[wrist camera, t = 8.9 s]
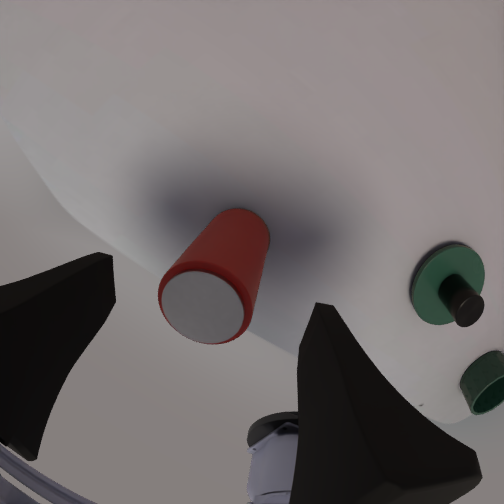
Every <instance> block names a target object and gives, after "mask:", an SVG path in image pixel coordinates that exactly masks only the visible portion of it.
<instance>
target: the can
mask: <svg viewBox="0 0 504 504" xmlns="http://www.w3.org/2000/svg"><path fill="white" fill-rule="evenodd" d="M268 245H269V235H268V231H267V229H266V226H265V225H264V223H263V222H262V221H261V219H260V218H259V217H257V216H256V215H255V214H253V213H251V212H249V211H247V210H243V209H229V210H226V211H223V212H221V213H220V214H218V215H217V216H216V217H215V218H214V219H213V220H212V221H211V222H210V223H209V224H208V226H207V227H206V228H205V229H204V230H203V231H202V232H201V233H200V235H199V236H198V237H197V238H196V239H195V240H194V241H193V242H192V244H191V245H190V246H189V247H188V248H187V249H186V250H185V252H184V253H183V254H182V255H181V256H180V257H179V258H178V260H177V261H176V262H175V263H174V264H173V265H172V267H171V268H170V269H169V270H168V271H167V272H166V274H165V275H164V276H163V278H162V280H161V282H160V284H159V289H158V301H159V305H160V308H161V311H162V313H163V315H164V317H165V319H166V320H167V321H168V323H169V324H170V325H171V326H172V327H173V328H174V329H175V330H176V331H178V332H179V333H180V334H182V335H183V336H185V337H187V338H189V339H191V340H193V341H196V342H199V343H204V344H222V343H227V342H230V341H232V340H234V339H236V338H238V337H239V336H240V335H242V334H243V333H244V332H245V330H246V329H247V328H248V326H249V324H250V322H251V319H252V315H253V311H254V306H255V302H256V298H257V293H258V289H259V285H260V280H261V276H262V272H263V267H264V263H265V259H266V254H267V250H268Z"/></svg>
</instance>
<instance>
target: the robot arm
mask: <svg viewBox="0 0 504 504" xmlns="http://www.w3.org/2000/svg"><path fill="white" fill-rule="evenodd" d="M115 303H116V296H115V285H114V272H113V256H112V255H108V254H105V253H100V252H97V253H93V254H90V255H87V256H84V257H81V258H79V259H76V260H73V261H71V262H68V263H66V264H63V265H61V266H58V267H55V268H53V269H50V270H48V271H45V272H42V273H39V274H37V275H34V276H32V277H29V278H26V279H23V280H20V281H16V282H13V283H10V284H6V285H3V286H0V442H1V443H2V444H3V445H5V446H8V447H9V448H11V449H12V450H13V451H15V452H16V453H17V454H19V455H20V456H22V457H23V458H25V459H26V460H27V461H34V460H36V459H37V456H38V452H39V448H40V444H41V440H42V436H43V433H44V430H45V427H46V424H47V421H48V418H49V415H50V413H51V410H52V408H53V405H54V403H55V401H56V399H57V396H58V394H59V392H60V390H61V388H62V386H63V384H64V382H65V380H66V378H67V376H68V374H69V372H70V370H71V369H72V367H73V366H74V364H75V363H76V361H77V360H78V359H79V357H80V356H81V354H82V353H83V352H84V350H85V349H86V347H87V346H88V345H89V343H90V342H91V341H92V339H93V338H94V336H95V335H96V333H97V332H98V331H99V330H100V328H101V327H102V325H103V324H104V323H105V321H106V319H107V317H108V316H109V314H110V312H111V310H112V308H113V306H114V304H115ZM297 387H298V422H299V426H298V425H295V424H293V423H290V422H286V423H284V424H283V425H281V426H280V427H278V428H277V429H276V430H274V431H273V432H271V433H270V434H269V435H267V436H266V437H264V438H263V439H261V440H260V441H258V442H257V443H255V444H254V445H252V446H251V447H249V448H248V449H247V452H248V453H251V454H252V460H251V466H250V472H249V478H248V483H247V493H248V496H249V498H250V500H251V501H252V502H248V503H247V504H449V503H451V502H453V501H454V500H456V499H458V498H459V497H461V496H463V495H465V494H466V493H468V492H469V491H470V490H472V489H474V488H475V487H476V486H477V485H478V484H479V482H480V481H481V479H482V474H481V470H480V466H479V462H478V458H477V455H476V452H475V451H474V450H473V449H471V448H469V447H468V446H466V445H464V444H463V443H461V442H460V441H458V440H456V439H455V438H453V437H451V436H450V435H448V434H447V433H445V432H444V431H443V430H441V429H440V428H438V427H437V426H436V425H434V424H433V423H432V422H431V421H429V420H428V419H427V418H426V417H425V416H423V415H422V414H421V413H420V412H419V411H418V410H417V409H415V408H414V407H413V406H412V405H411V404H410V403H409V402H408V401H407V400H406V399H405V398H404V397H403V396H402V395H401V394H400V393H399V392H398V391H397V390H396V389H395V388H394V387H393V386H392V385H391V384H390V383H389V382H388V380H387V379H386V378H385V377H384V376H383V375H382V374H381V372H380V371H379V370H378V369H377V367H376V366H375V365H374V363H373V362H372V361H371V360H370V358H369V357H368V356H367V354H366V353H365V352H364V350H363V349H362V347H361V346H360V345H359V343H358V342H357V340H356V339H355V337H354V336H353V334H352V333H351V331H350V330H349V328H348V327H347V325H346V324H345V322H344V321H343V319H342V318H341V316H340V315H339V313H338V312H337V310H336V309H335V307H334V306H333V305H328V304H323V303H317V302H316V303H315V306H314V309H313V312H312V314H311V317H310V320H309V322H308V325H307V328H306V330H305V333H304V336H303V338H302V341H301V343H300V346H299V355H298V367H297ZM0 467H1V468H2V469H3V470H5V471H6V472H7V473H9V474H10V475H11V476H13V477H14V478H15V479H17V480H18V481H19V482H21V483H22V484H24V485H25V486H26V487H28V488H30V489H31V490H32V491H34V492H35V493H37V494H38V495H40V496H42V497H43V498H45V499H46V500H48V501H50V502H51V503H53V504H97V503H95V502H92V501H90V500H88V499H86V498H84V497H82V496H80V495H78V494H76V493H74V492H73V491H71V490H69V489H67V488H65V487H63V486H62V485H60V484H58V483H56V482H55V481H53V480H51V479H49V478H48V477H46V476H44V475H43V474H41V473H40V472H38V471H37V470H35V469H34V468H32V467H31V466H29V465H28V464H26V463H25V462H23V461H22V460H21V459H19V458H17V457H16V456H15V455H13V454H12V453H11V452H10V451H8V450H7V449H6V448H4V447H3V446H2V445H1V444H0ZM0 504H40V503H38V502H36V501H35V500H34V499H32V498H31V497H29V496H28V495H26V494H25V493H23V492H22V491H21V490H19V489H18V488H16V487H15V486H14V485H12V484H11V483H10V482H8V481H7V480H6V479H4V478H3V477H2V476H1V474H0Z"/></svg>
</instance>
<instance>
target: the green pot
mask: <svg viewBox="0 0 504 504" xmlns="http://www.w3.org/2000/svg"><path fill="white" fill-rule="evenodd" d="M460 388H461V390H462V393H463V395H464V397H465V400H466V402H467V404H468V406H469V409H470V411H471V413H473V414H475V415H480V414H484V413H486V412H489V411H491V410H493V409H494V408H496V407H497V406H499V405H500V404H501V403H502V402H503V401H504V355H503V354H502V353H501V352H499V351H493V352H489V353H487V354H485V355H483V356H482V357H480V358H479V359H477V360H476V361H475V362H474V363H473V364H472V365H471V366H470V367H469V368H468V369H467V370H466V372H465V373H464V375H463V377H462V379H461V382H460Z"/></svg>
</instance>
